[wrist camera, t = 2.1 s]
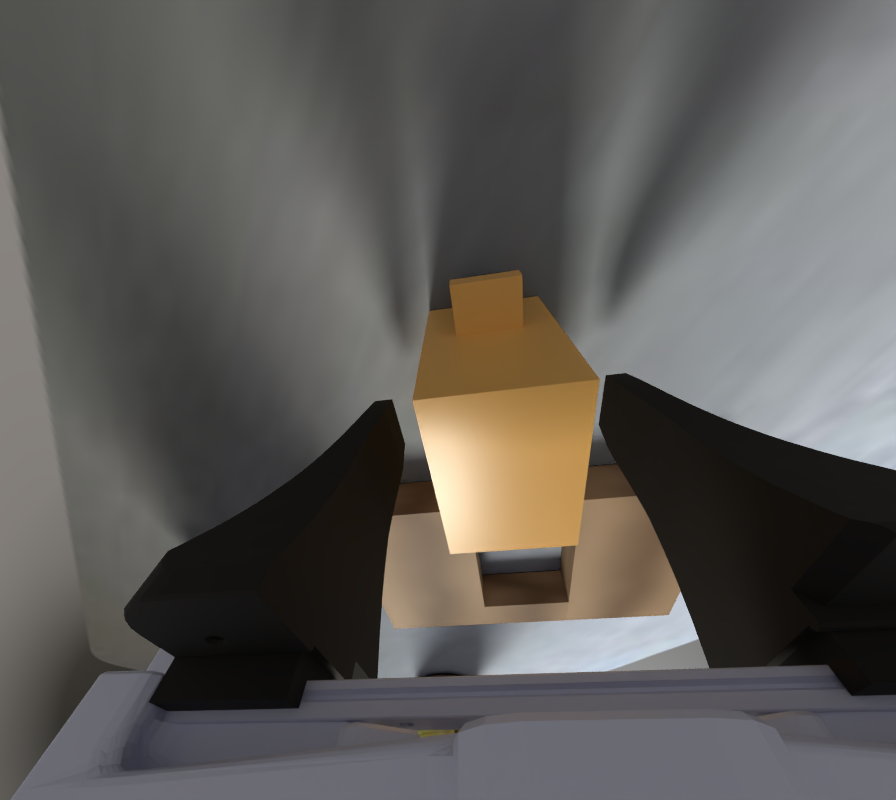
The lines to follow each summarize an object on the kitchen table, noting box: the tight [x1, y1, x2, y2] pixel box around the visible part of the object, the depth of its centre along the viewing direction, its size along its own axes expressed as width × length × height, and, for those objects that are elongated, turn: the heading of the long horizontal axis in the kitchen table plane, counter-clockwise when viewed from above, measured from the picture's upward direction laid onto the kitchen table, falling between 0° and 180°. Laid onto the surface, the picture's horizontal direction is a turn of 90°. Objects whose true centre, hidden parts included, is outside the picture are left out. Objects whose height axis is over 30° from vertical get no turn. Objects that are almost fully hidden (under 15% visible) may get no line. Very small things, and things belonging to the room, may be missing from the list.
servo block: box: [413, 270, 600, 554], centre depth 11 cm, size 4×9×6 cm, turn 8°
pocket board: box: [382, 464, 681, 629], centre depth 19 cm, size 18×12×2 cm, turn 98°
